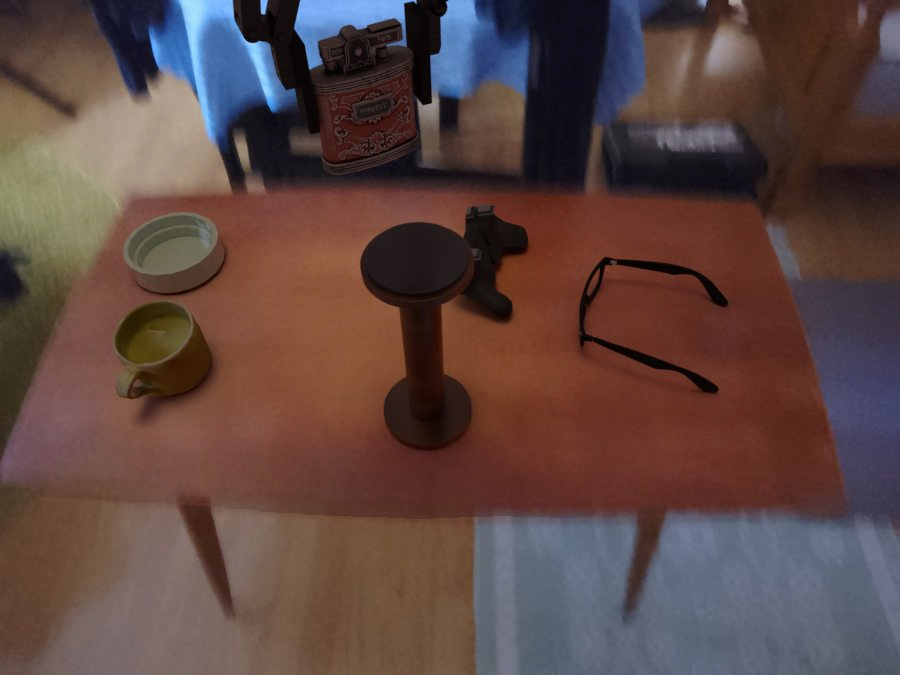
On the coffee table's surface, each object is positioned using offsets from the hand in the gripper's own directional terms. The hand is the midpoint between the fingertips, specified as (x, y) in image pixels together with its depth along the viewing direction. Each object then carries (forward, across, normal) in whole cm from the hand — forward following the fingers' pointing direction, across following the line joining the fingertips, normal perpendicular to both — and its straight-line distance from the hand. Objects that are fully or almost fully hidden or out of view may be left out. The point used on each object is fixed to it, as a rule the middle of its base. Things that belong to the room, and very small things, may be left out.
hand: (366, 109), depth 51 cm
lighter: (+4, 0, 0) cm, 4 cm away
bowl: (+37, +20, -34) cm, 54 cm away
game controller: (+38, -18, -13) cm, 44 cm away
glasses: (+38, -32, +4) cm, 49 cm away
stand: (+37, -2, +3) cm, 38 cm away
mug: (+38, +24, -14) cm, 47 cm away
